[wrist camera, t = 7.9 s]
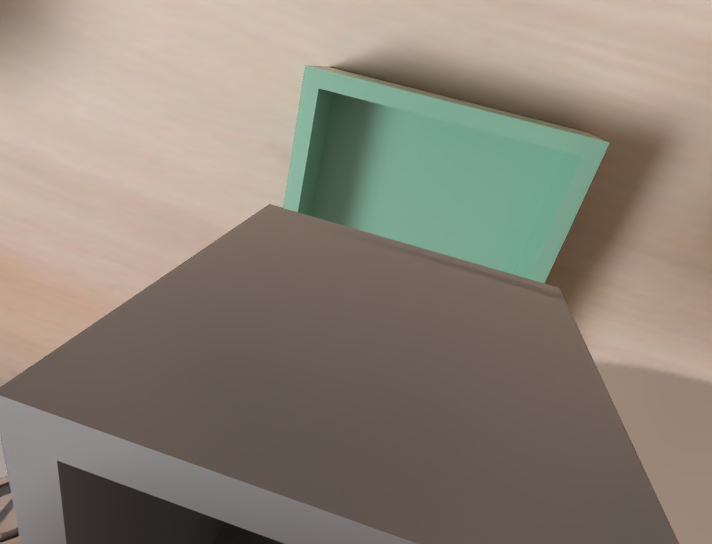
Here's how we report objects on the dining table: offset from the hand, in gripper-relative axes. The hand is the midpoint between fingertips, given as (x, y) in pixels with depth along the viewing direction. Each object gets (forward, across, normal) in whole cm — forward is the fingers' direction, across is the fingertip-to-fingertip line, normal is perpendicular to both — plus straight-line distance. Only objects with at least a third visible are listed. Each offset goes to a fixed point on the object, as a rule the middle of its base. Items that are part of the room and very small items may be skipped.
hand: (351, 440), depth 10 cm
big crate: (+18, 0, 0) cm, 18 cm away
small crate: (+1, 0, 0) cm, 1 cm away
